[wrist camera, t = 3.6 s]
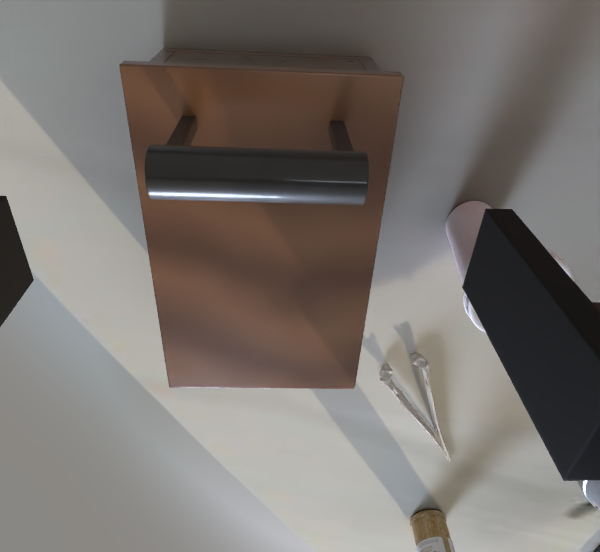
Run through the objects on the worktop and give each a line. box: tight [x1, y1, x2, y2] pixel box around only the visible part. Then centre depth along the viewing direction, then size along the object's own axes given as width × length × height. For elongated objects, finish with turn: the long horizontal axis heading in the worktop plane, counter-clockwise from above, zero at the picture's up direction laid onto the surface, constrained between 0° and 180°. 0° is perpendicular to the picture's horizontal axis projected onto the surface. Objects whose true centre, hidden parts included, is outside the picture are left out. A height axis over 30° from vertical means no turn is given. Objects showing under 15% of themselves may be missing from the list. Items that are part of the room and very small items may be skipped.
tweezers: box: [380, 353, 451, 461], centre depth 49 cm, size 17×5×2 cm, turn 25°
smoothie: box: [445, 201, 574, 334], centre depth 31 cm, size 6×6×14 cm
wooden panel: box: [120, 61, 404, 389], centre depth 25 cm, size 21×13×8 cm, turn 177°
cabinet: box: [149, 48, 382, 72], centre depth 32 cm, size 20×13×8 cm, turn 177°
